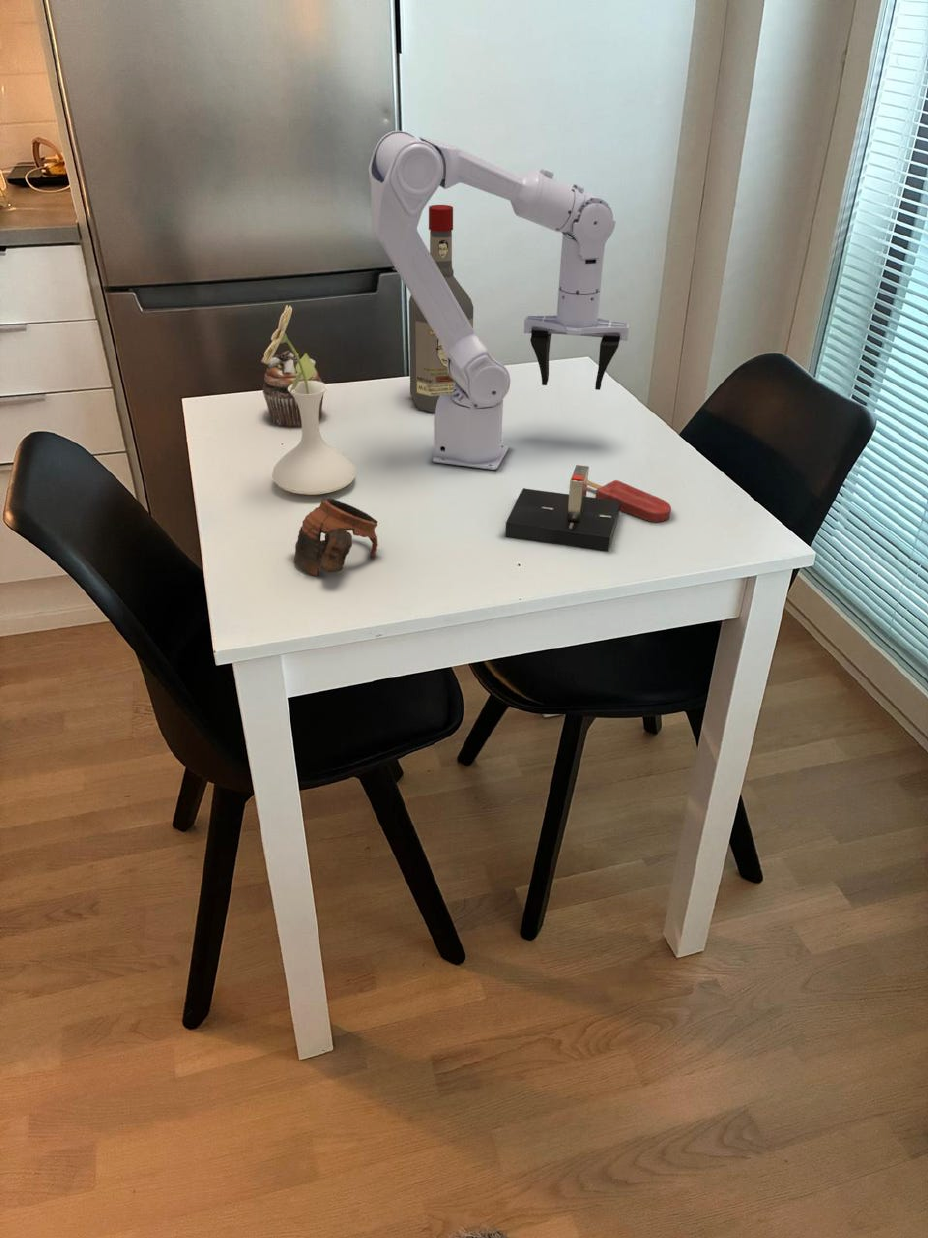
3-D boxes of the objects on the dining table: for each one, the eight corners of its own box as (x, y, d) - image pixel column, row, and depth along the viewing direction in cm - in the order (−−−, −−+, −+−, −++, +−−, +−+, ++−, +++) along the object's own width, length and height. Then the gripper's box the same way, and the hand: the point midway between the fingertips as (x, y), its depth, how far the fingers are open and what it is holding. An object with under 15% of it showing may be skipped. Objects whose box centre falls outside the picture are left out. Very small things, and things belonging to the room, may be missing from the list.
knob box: (505, 536, 119) (505, 521, 118) (522, 501, 127) (522, 486, 126) (608, 551, 116) (610, 535, 115) (618, 514, 124) (620, 499, 123)
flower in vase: (297, 461, 137) (281, 282, 123) (370, 473, 133) (362, 292, 119) (251, 499, 126) (227, 310, 112) (328, 514, 123) (314, 321, 109)
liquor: (407, 394, 159) (404, 201, 142) (460, 390, 161) (463, 200, 144) (418, 414, 152) (416, 214, 135) (474, 410, 154) (478, 212, 137)
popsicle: (586, 467, 132) (678, 503, 124) (584, 478, 133) (676, 515, 125) (566, 477, 129) (659, 515, 121) (565, 488, 130) (657, 527, 122)
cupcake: (252, 420, 149) (244, 357, 143) (292, 401, 156) (287, 340, 150) (299, 434, 145) (294, 370, 139) (339, 413, 151) (335, 352, 146)
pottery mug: (286, 548, 117) (311, 487, 115) (356, 575, 120) (382, 516, 118) (290, 576, 106) (318, 508, 104) (368, 605, 109) (396, 539, 107)
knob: (572, 503, 122) (576, 462, 119) (585, 505, 122) (589, 464, 119) (566, 520, 119) (570, 478, 115) (579, 521, 118) (583, 479, 115)
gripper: (522, 292, 128) (517, 390, 135) (631, 300, 125) (620, 399, 133) (530, 279, 133) (525, 373, 141) (634, 286, 131) (623, 381, 139)
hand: (571, 384), depth 137 cm, fingers open, 7 cm apart
